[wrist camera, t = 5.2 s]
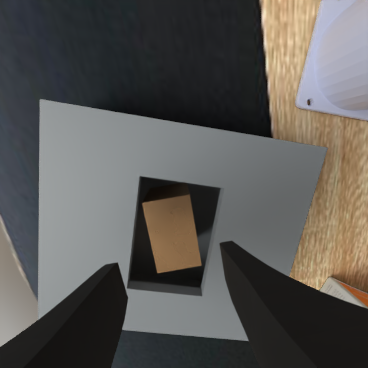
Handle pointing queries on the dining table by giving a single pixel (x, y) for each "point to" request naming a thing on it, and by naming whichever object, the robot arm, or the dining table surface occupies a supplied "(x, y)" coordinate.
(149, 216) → the brown wooden block
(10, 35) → the dining table surface
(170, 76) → the dining table surface
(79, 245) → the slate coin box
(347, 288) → the skincare box
